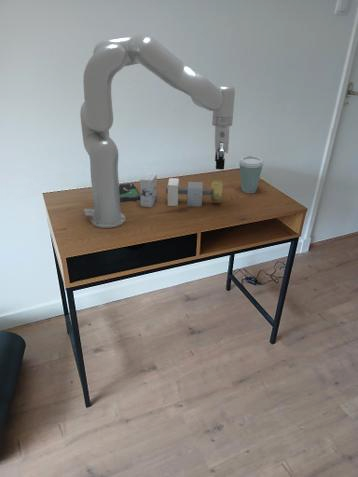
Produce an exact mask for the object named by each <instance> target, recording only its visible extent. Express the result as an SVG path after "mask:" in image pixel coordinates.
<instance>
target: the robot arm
mask: <svg viewBox="0 0 358 477" xmlns="http://www.w3.org/2000/svg"><path fill="white" fill-rule="evenodd" d="M138 64H140V65H141V66H142V67H144V68H145V69H147V70H148V71H149V72H151V73H152V74H154V75H155V77H158V78H159V79H160V80H162V81H163V82H164V84H165V83H166V84H167V85H168V86H170V87H171V88H173V89H175V90H178V91H180V92H182V93H184V94H185V95H188V96H189V97H190V98H191V101H192V103H193V104H194V105H196V106H198V107H199V108H202V109H205V110H207V111H211V112H212V120H211V121H212V123H211V124H212V126H213V127H214V128H215V129H214V150H215V153H214V154H215V156H214V161H215V169H216V170H224V169H225V164H226V163H225V161H226V160H225V155H226V154H228V153H229V143H230V141H229V140H230V128H231V127H232V126H233V118H234V108H235V95H236V88H235V87H234V86H233V85H231V84H218V85H215V84H213V82H211V81H210V80H209V79H207V78H206V77H205V76H203V75H202V74H201V73H199V72H198V71H197V70H196V69H193V68H192V67H191V66H190V65H188V64H187V63H186V62H184V61H182V60H181V59H180V58H179V57H177V56H176V55H175V54H174V53H172V51H170V50H169V49H168V48H166V47H165V46H164V45H163V44H162V43H161V42H159V41H158V40H157V39H155V38H154V37H153V36H150V35H147V34H136V35H131V36H125V37H120V38H115V39H114V38H113V39H106V40H102V41H100V42H98V43H97V44H96V45H95V46H94V49H93V52H92V55H91V57H90V58H89V60H88V61H87V63H86V66H85V68H84V71H83V83H82V84H83V96H84V97H83V98H84V102H83V103H82V105H81V107H80V111H79V112H80V113H79V114H80V116H79V117H80V124H81V133H82V142H83V147H84V149H85V151H86V152H87V154H88V156H89V164H90V167H89V168H90V171H89V172H90V180H91V181H90V183H91V191H92V199H93V208H84V209H83V214H84V215H85V217H91V218H90V220H91V221H90V222H91V224H92V225H93V226H95V227H97V228H102V229H107V228H108V229H110V228H116V227H119V226H121V225H123V224H124V223H125V222H126V216H125V214H123V213H122V211H121V202H120V193H119V185H120V182H119V150H118V146H117V145H116V143H115V141H114V140H113V139H112V138H111V137H110V131H109V130H111V128H112V127H113V123H114V112H113V100H112V98H113V97H112V83H113V80H114V77H115V76H116V74H117V73H119V72H120V71H121V70H123V68H124V67H128V66H133V65H138Z"/></svg>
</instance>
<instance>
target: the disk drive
mask: <svg viewBox="0 0 358 477" xmlns="http://www.w3.org/2000/svg"><path fill="white" fill-rule="evenodd" d="M119 193H120V203H124V202H137V201H141V194H140V192H139V191H138V189H137V188H136V185H135V184H134V183H123V184H119Z"/></svg>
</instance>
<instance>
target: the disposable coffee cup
mask: <svg viewBox="0 0 358 477" xmlns="http://www.w3.org/2000/svg"><path fill="white" fill-rule="evenodd" d="M238 162H239V163H238V164H239V174H240V185H241V186H240V188H241V191H242V192H243V193H245V194H254V193H256V192H257V189H258V185H259V181H260V177H261V173H262V169H263V166H264V161H263V159H262V158H261V157H259V156H256V155H245V156H242V157H241V159H240V160H239V161H238Z"/></svg>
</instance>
